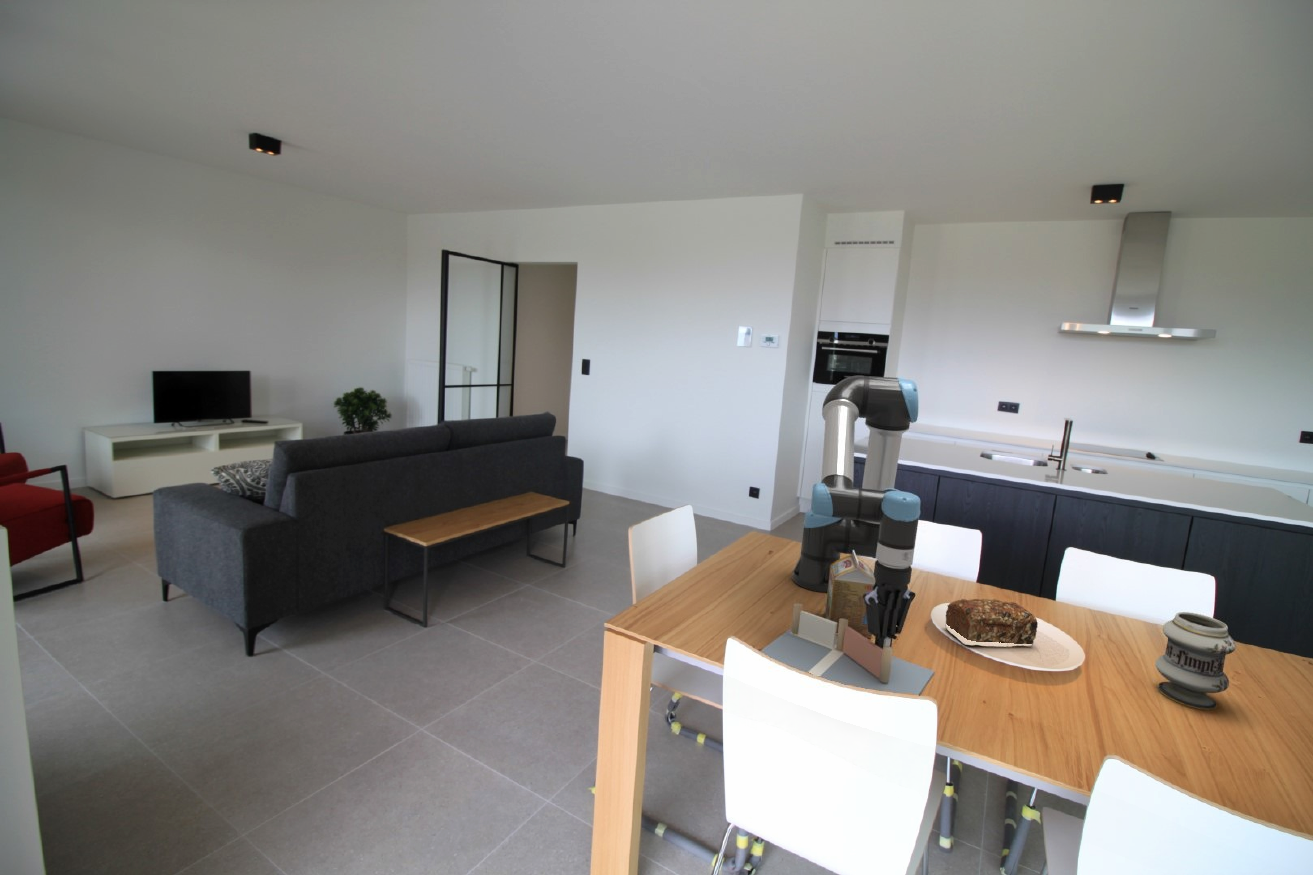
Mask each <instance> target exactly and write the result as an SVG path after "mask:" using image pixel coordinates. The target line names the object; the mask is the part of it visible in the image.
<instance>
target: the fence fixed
mask: <svg viewBox="0 0 1313 875" xmlns="http://www.w3.org/2000/svg"><path fill="white" fill-rule="evenodd" d="M791 621H792V622H791V628H792V629H791V628H790V629H791V633H793V634H798V635H800V636H803V637H805V638H808V639H811V640H814V641H816V642H819V643H822V644H824V645H827V646H830V647H832V648H833V647H834V646H835V641H836V636H837V645H836V649H837V650H838V651H843V642H844V634H845V627H848V620H847V619H843V618H841V619H839V627H838V633H836V632H837V624H838V623H837V622H834V621H831V620H828V619H826V617H825V618H824V617H822V616H819V615H817V614H813V613H810V612H807V611H804V610H803V604H801V603H798V602H796V603H794V604H793V609H792V620H791Z"/></svg>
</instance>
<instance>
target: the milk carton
mask: <svg viewBox="0 0 1313 875" xmlns="http://www.w3.org/2000/svg"><path fill="white" fill-rule="evenodd" d="M874 584H875V578H874V570H872V568H871V567H870V566H869V565H868V564H867V563H865V561H863V560H861V559H860V558H859V557H858V556H857V555H856V554H855V552H854V550H853V551H852V555H850V554H849V555H847V556H844V557H842V558H840V559H839V560H837V561H835V562H834V563H832V564H831V566H830V575H829V584H828V592H826V593H827V595H826V604H825V610H824V611H825V612H824V613H825V614H824V617H825V619H828V620H831V621H834V622H837V623H838V624H837V632H836V634H838V627H839V619H841V618H843V619H847V620H848V627H851V628H852V629H853V630H855V631H856V632H858V633H859V634H861V635H862V636H864V637H865V638H867V639H872V637H873V635H872V634H871V633H869V632H868V624H867V613H866V603H865V601H864V599H863V595H864V594H867V595H868V594H870V593H871V592H872V591H873V586H874Z"/></svg>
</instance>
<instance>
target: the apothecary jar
mask: <svg viewBox="0 0 1313 875" xmlns="http://www.w3.org/2000/svg"><path fill="white" fill-rule="evenodd" d="M1228 628H1229V627H1228V625H1227V624H1226V623H1225V622H1222V621H1221V620H1219V619H1216V618H1214V617H1210V616H1209V615H1208V616H1207V615H1204V614H1201V613H1197V612H1196V613H1195V612H1189V611H1188V612H1187V611H1179V612H1176V614H1175V615H1174V618H1172V619H1171V620H1168V621H1166V622H1165V623H1163V626H1162V631H1163V634H1164V636H1165V637H1166V638H1167V642H1166V648H1165V653H1164V654H1162V655H1160V656H1158V657H1157V658H1156V660H1155V667H1156V670H1157V672H1158V673H1159V674H1160V675H1161V676H1162V677H1163V678H1164V679H1166V680H1168V681H1162V682H1159V683H1158V687H1157V690H1158V691H1159V692H1160V693H1161V694H1162V695H1163V696H1165V697H1166V698H1168V699H1170V700H1172V701H1174V702H1176V703H1178V704H1181V705H1184V706H1186V707H1190V708H1194V709H1198V710H1205V711H1206V710H1207V711H1210V710H1215V709H1216V708H1217V705H1218V704H1217V702H1216V701H1215V700H1214V699H1213V697H1211V696H1210V695H1208V694H1218V693H1221V692H1224V691H1226V690H1227V689H1228V688H1229V686H1230V680H1229V678H1228V676H1227V675H1226V673H1225V672H1224V669H1225V668H1224V666H1225V660H1226V656H1227V655H1230V654H1232V653H1233V652H1235V650H1236V647H1237V646H1236V642H1235V639H1233V638H1232V637H1231V635H1229V631H1228V630H1229V629H1228Z"/></svg>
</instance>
